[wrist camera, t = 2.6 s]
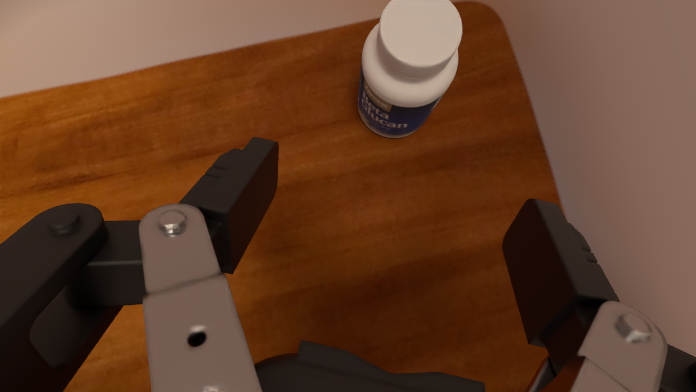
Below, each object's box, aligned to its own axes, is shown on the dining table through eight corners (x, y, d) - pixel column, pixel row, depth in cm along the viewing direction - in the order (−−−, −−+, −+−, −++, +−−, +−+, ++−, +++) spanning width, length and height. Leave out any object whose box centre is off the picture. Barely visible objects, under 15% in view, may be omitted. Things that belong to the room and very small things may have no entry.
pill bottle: (347, 126, 26) (348, 59, 16) (370, 62, 26) (384, -40, 17) (416, 149, 25) (459, 95, 16) (437, 84, 26) (491, -7, 16)
